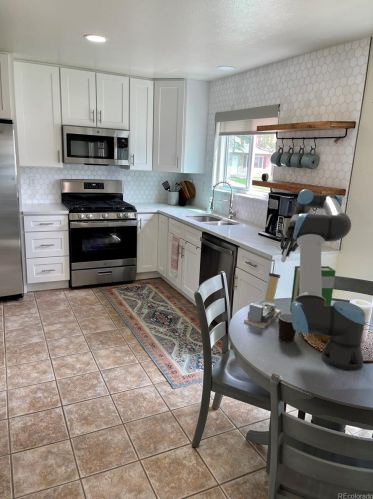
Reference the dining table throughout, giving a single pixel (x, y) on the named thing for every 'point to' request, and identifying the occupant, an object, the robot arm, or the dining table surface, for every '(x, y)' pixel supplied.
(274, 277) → the tan flat bar
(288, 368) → the dining table surface
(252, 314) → the heat-sink block
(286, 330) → the coffee mug
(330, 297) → the hardback book
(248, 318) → the birch board
